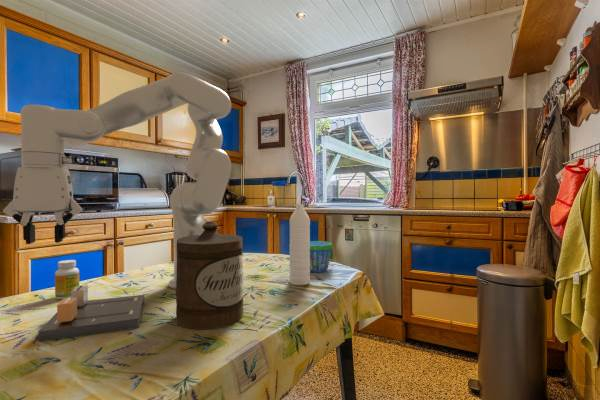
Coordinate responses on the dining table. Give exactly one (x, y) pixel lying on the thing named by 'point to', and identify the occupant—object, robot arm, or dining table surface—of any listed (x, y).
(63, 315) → the orange fader
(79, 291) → the block
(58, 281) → the supplement bottle
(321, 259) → the snack cup
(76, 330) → the console
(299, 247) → the water bottle
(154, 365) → the dining table surface
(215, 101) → the robot arm
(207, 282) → the wooden container
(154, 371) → the dining table surface
